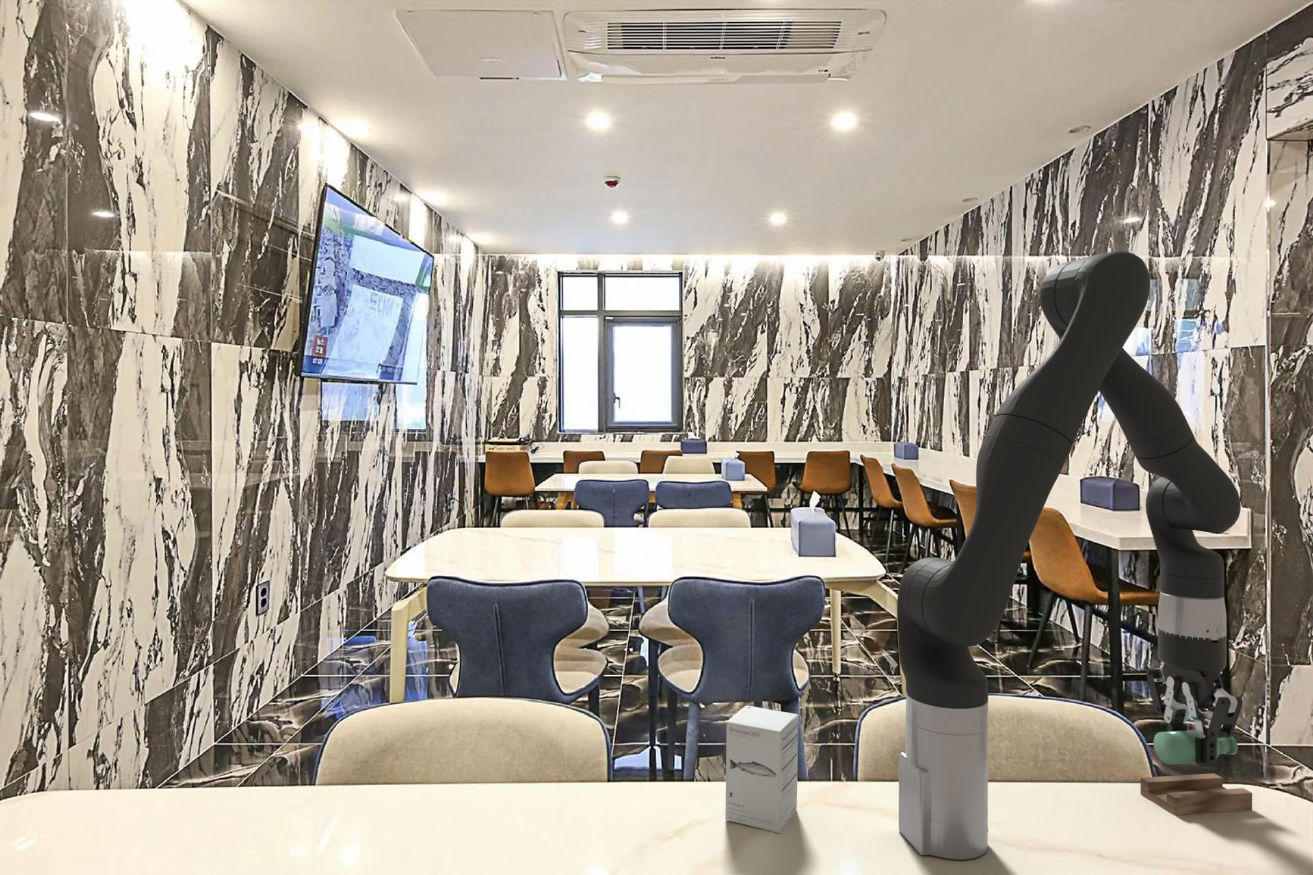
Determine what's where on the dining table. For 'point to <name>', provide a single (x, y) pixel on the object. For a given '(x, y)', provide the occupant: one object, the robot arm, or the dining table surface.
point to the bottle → (1186, 746)
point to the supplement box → (761, 768)
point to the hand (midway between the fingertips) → (1191, 757)
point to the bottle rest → (1195, 794)
